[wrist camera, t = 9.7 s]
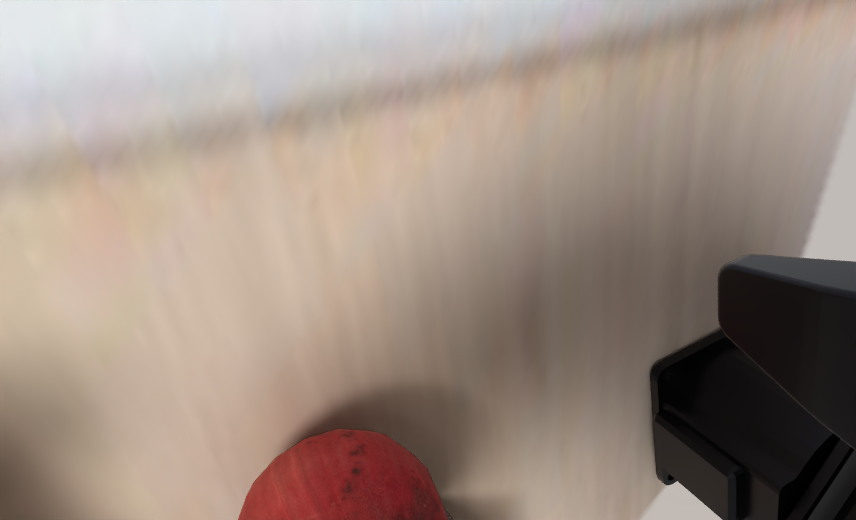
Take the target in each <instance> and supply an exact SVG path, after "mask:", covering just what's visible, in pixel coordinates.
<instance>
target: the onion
mask: <svg viewBox="0 0 856 520" xmlns="http://www.w3.org/2000/svg"><path fill="white" fill-rule="evenodd" d="M238 520H448V517H447V515H446V512H445V510H444V507H443V505H442V502H441V500H440V497H439V495H438V493H437V490H436V488H435V485H434V483H433V481H432V478H431V476H430V473H429V471H428V469H427V468H426V467H425V466H424V465H423V464H422V463H421V462H420V461H419V460H418V459H417V458H416V457H415V456H414V455H413V454H412V453H411V452H409V451H408V450H407V449H405V448H404V447H402V446H401V445H399V444H398V443H397V442H395V441H394V440H392V439H391V438H389V437H388V436H386V435H384V434H380V433H376V432H372V431H364V430H348V429H335V430H332V431H328V432H325V433H322V434H319V435H316V436H313V437H310V438H306V439H304V440H302V441H301V442H299V443H298V444H296V445H295V446H293V447H291V448H290V449H288V450H287V451H285V452H284V453H282V454H281V455H279V456H277V457H276V458H275V459H274V460H273V461H272V462H271V464H270V465H269V466H268V467H267V468H266V469H265V470H264V471H263V472H262V474H261V475H260V476H259V477H258V478H257V479H256V480H255V481H254V483H253V485H252V487H251V489H250V491H249V493H248V494H247V496H246V499H245V502H244V505H243V507H242V510H241V513H240V516H239V518H238Z"/></svg>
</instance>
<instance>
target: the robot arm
mask: <svg viewBox="0 0 856 520" xmlns="http://www.w3.org/2000/svg"><path fill="white" fill-rule="evenodd" d="M718 321H719V324H720V326H721V328H722V330H721V331H719V332H717V333H715V334H713V335H711V336H709V337H708V338H706V339H704V340H702V341H700V342H698V343H696V344H694V345H692V346H690V347H688V348H686V349H684V350H683V351H681V352H679V353H677V354H675V355H673V356H671V357H669V358H667V359H665V360H663V361H661V362H659V363H658V364H657V365H655V367H654V368H653V369H652V372H651V376H650V380H651V395H652V410H653V425H654V440H655V455H656V470H657V477H658V479H660V480H661V481H662V482H663V483H664V484H666V485H671V484H673V483H675V482H676V481H678V482H679V483H681V484H682V485H683V486H684V487H685V488H686V489H688V490H689V491H690V492H691V493H692V494H694V495H695V496H696V497H697V498H698V499H699V500H700V501H702V502H703V503H704V504H705V505H706V506H707V507H709V508H710V509H711V510H712V511H713V512H714V513H716V514H717V515H718V516H719V517H720V518H721V519H722V520H856V262H851V261H836V260H824V259H810V258H796V257H782V256H769V255H755V254H749V255H744V256H741V257H739V258H737V259H735V260H733V261H731V262H729V263H727V264H725V265H724V266H723V267H721V269H720V271H719V273H718Z"/></svg>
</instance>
